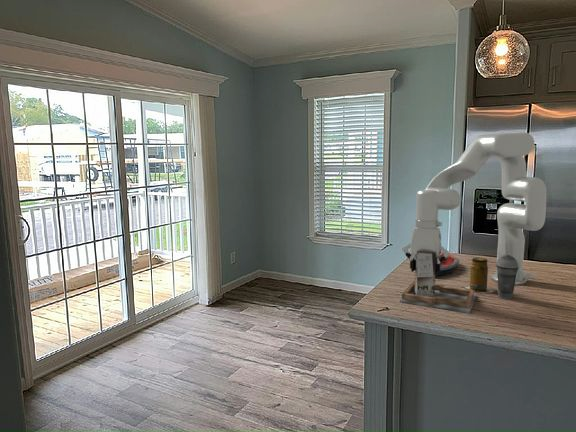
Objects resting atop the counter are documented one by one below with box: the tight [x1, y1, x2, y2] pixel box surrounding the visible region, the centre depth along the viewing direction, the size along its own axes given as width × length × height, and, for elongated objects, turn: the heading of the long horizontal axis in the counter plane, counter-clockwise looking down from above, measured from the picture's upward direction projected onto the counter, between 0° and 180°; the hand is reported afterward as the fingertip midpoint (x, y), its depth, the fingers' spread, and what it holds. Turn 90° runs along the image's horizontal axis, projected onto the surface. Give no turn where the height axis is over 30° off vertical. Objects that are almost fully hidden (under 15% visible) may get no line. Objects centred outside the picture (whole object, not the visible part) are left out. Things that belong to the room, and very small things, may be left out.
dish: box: [435, 253, 460, 277], centre depth 193 cm, size 16×31×5 cm, turn 141°
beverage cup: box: [495, 243, 519, 300], centre depth 155 cm, size 7×7×20 cm
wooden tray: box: [399, 280, 477, 314], centre depth 155 cm, size 23×19×3 cm
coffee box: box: [414, 251, 436, 297], centre depth 156 cm, size 9×6×16 cm
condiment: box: [463, 257, 495, 295], centre depth 164 cm, size 7×8×12 cm
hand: (424, 271), depth 156 cm, fingers closed on coffee box, 7 cm apart
